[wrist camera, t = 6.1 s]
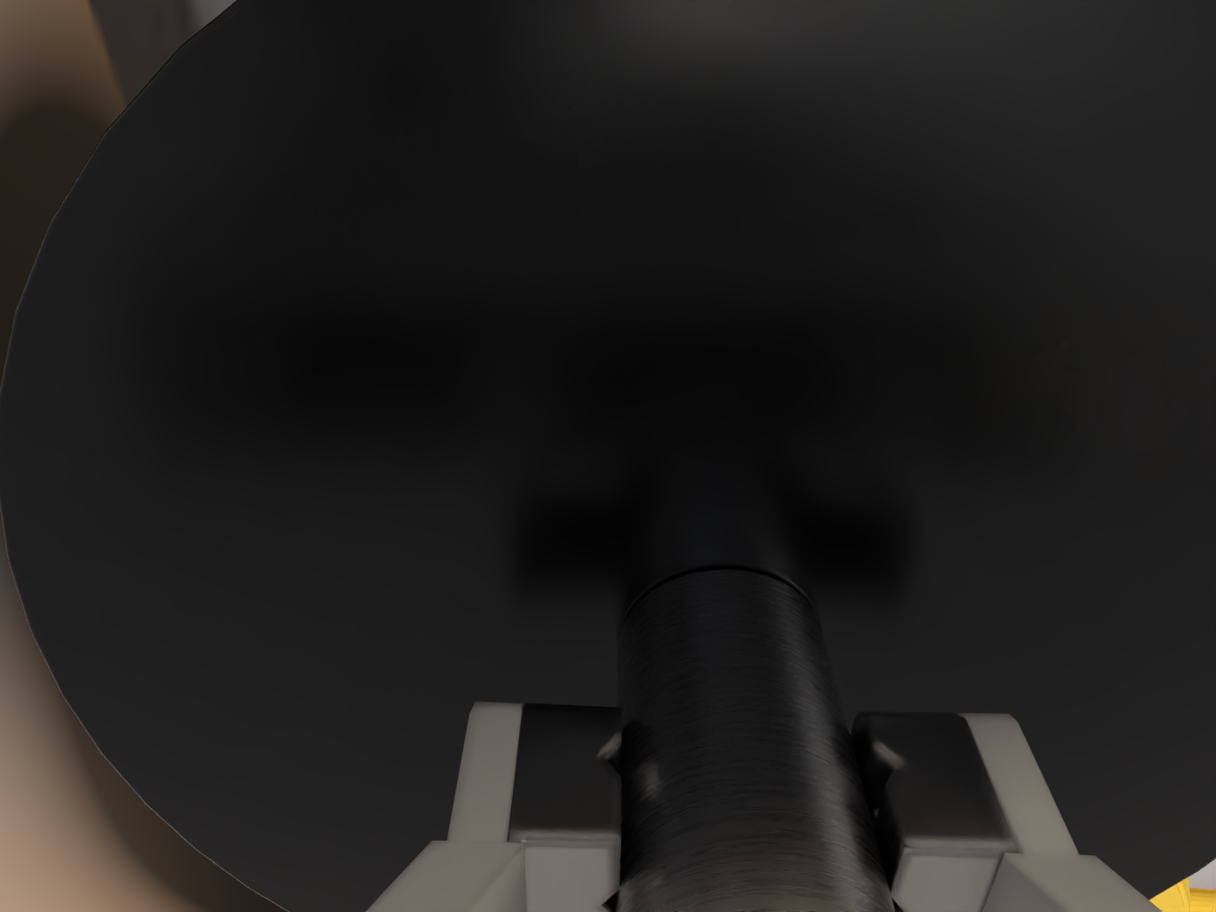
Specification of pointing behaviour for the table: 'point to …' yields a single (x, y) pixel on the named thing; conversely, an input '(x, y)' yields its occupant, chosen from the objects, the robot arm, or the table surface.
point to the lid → (633, 423)
